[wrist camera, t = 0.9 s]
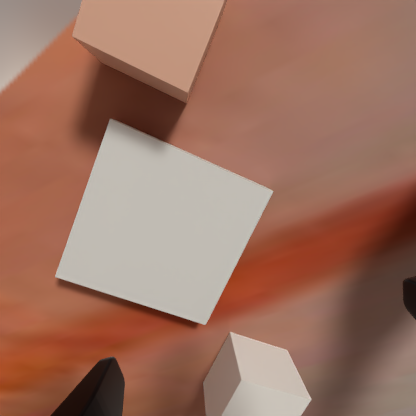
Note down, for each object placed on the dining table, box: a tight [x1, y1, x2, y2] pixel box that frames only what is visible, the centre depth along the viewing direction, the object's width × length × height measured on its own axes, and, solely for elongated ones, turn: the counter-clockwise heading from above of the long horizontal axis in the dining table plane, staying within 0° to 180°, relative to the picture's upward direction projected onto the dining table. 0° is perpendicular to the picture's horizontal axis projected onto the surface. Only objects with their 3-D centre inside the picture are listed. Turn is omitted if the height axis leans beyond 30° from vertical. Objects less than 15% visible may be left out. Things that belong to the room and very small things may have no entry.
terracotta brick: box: [72, 0, 227, 103], centre depth 15 cm, size 6×6×5 cm
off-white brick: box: [203, 332, 311, 416], centre depth 23 cm, size 6×6×5 cm
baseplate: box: [55, 119, 273, 325], centre depth 20 cm, size 12×12×2 cm
